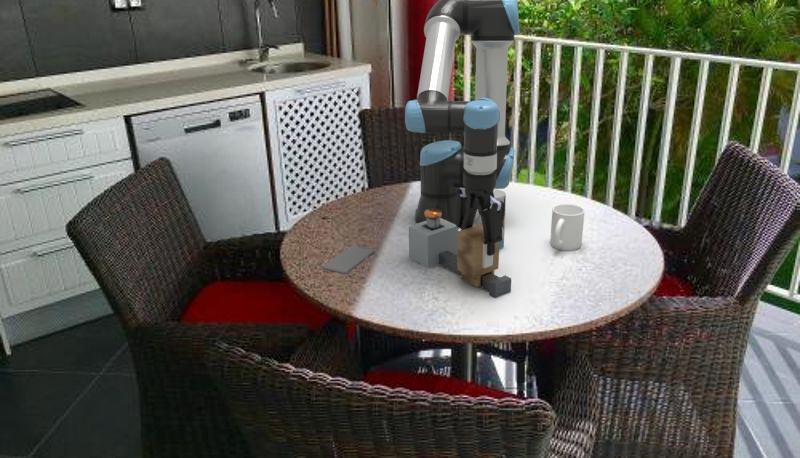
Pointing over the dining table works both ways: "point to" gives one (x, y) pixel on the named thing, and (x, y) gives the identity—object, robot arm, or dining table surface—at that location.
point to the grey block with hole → (431, 242)
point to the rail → (488, 280)
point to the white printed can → (501, 196)
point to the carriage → (473, 254)
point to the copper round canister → (433, 218)
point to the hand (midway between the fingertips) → (477, 261)
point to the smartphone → (348, 259)
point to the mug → (567, 226)
